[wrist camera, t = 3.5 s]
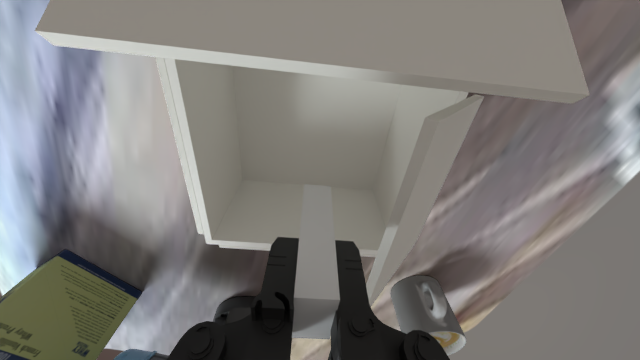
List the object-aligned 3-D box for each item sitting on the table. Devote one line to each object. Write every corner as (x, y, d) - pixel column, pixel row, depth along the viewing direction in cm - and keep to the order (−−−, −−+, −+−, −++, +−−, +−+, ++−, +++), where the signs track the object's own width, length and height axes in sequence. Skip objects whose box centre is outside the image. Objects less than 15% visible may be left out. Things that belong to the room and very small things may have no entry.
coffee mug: (426, 305, 51) (448, 360, 42) (383, 301, 50) (397, 356, 41) (457, 267, 44) (491, 323, 35) (408, 261, 43) (430, 317, 34)
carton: (372, 192, 34) (396, 259, 24) (236, 181, 33) (200, 248, 23) (430, -15, 21) (534, -60, 11) (212, -47, 20) (106, -129, 10)
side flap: (415, 243, 21) (363, 317, 15) (410, 240, 21) (356, 311, 15) (484, 96, 14) (439, 121, 8) (475, 94, 14) (425, 117, 8)
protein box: (64, 247, 39) (-62, 353, 26) (144, 291, 47) (76, 392, 33) (33, 268, 42) (-94, 373, 29) (113, 307, 50) (40, 405, 36)
